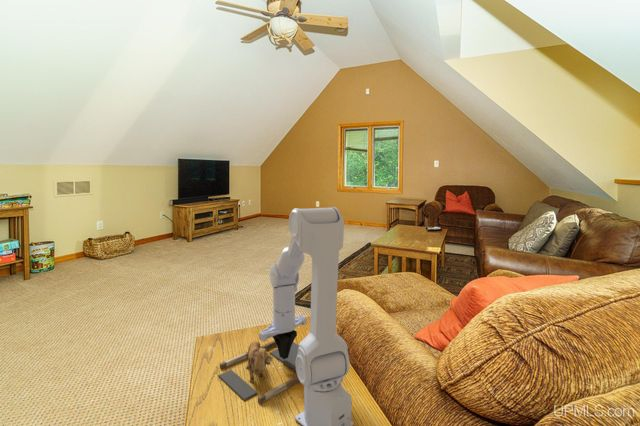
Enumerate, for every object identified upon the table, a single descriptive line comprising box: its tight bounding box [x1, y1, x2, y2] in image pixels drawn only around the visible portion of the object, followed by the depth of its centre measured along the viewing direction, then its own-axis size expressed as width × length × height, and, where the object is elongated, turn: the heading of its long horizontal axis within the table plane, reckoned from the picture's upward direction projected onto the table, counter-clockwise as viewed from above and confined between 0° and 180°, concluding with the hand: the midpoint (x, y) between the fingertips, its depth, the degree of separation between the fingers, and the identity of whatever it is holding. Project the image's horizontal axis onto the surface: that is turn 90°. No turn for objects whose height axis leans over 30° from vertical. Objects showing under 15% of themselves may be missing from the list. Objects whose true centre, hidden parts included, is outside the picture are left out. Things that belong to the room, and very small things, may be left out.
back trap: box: [269, 341, 299, 372], centre depth 92 cm, size 12×8×1 cm
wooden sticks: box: [219, 340, 301, 404], centre depth 87 cm, size 18×22×1 cm
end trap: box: [217, 369, 258, 401], centre depth 80 cm, size 12×4×1 cm, turn 44°
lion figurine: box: [245, 340, 274, 384], centre depth 85 cm, size 15×5×9 cm, turn 25°
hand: (283, 357), depth 90 cm, fingers closed
